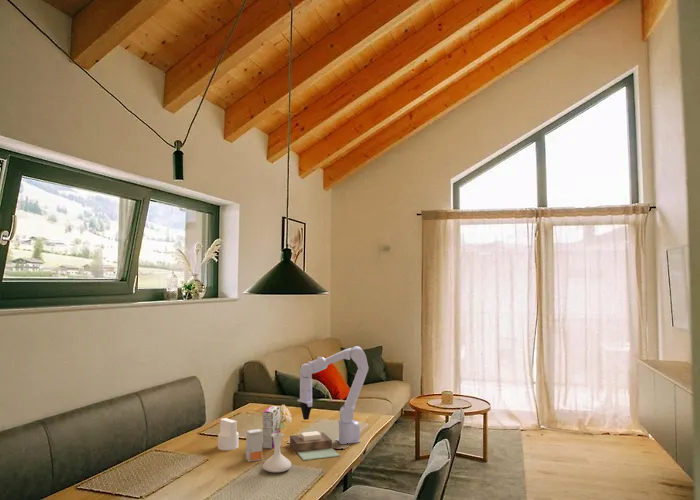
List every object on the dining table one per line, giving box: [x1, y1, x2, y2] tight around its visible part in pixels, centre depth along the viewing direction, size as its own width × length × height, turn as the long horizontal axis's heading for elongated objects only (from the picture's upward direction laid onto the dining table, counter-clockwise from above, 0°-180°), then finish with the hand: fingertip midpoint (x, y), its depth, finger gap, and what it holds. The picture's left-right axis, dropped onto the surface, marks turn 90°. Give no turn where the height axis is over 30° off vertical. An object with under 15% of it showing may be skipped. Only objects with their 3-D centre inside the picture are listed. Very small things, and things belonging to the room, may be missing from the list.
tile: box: [300, 430, 321, 441], centre depth 239 cm, size 8×6×2 cm
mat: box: [296, 447, 341, 462], centre depth 229 cm, size 16×10×1 cm, turn 110°
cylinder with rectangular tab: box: [217, 417, 239, 451], centre depth 240 cm, size 9×9×12 cm
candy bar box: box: [262, 405, 281, 450], centre depth 243 cm, size 11×5×16 cm, turn 168°
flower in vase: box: [262, 404, 293, 473], centre depth 212 cm, size 13×11×25 cm
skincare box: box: [245, 428, 263, 463], centre depth 223 cm, size 6×4×12 cm
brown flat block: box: [289, 431, 333, 453], centre depth 240 cm, size 16×13×4 cm
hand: (305, 419), depth 248 cm, fingers closed
